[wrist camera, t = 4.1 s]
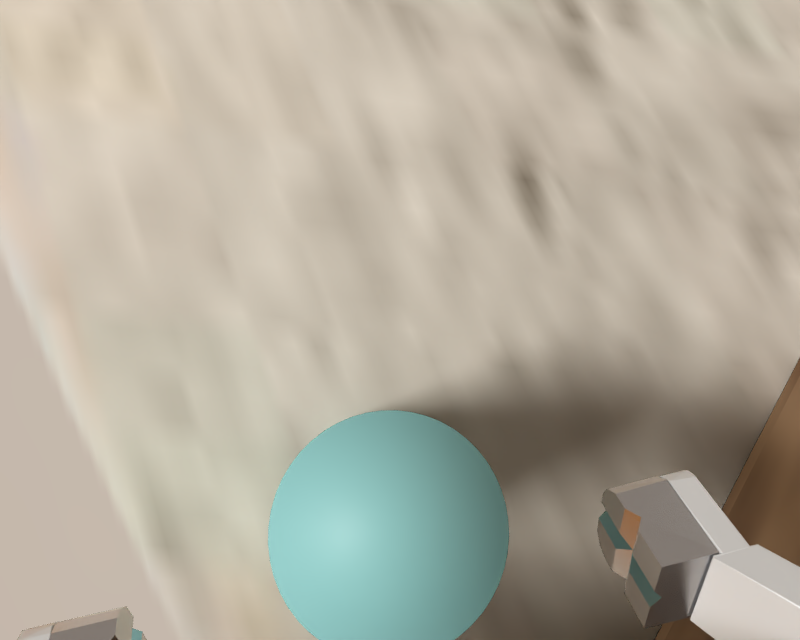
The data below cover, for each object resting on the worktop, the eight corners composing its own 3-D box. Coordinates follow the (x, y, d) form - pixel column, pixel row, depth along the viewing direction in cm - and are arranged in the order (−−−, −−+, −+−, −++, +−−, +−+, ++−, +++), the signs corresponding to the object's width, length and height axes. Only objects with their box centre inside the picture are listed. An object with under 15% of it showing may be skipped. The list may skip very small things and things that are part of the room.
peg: (344, 395, 18) (357, 365, 9) (442, 460, 18) (551, 494, 9) (275, 498, 17) (217, 573, 8) (377, 565, 17) (426, 712, 8)
